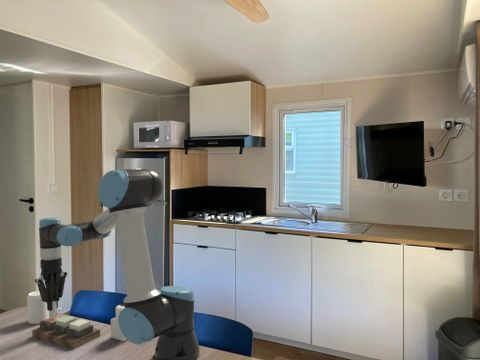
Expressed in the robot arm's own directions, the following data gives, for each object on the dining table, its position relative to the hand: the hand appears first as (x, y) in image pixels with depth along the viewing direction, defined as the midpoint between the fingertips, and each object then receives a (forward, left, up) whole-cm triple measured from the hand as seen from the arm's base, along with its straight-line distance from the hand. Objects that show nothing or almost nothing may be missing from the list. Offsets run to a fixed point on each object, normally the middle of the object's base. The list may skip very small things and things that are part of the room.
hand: (52, 317), depth 156 cm
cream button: (-15, 0, -2) cm, 15 cm away
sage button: (-7, 0, -2) cm, 8 cm away
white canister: (+16, -5, -6) cm, 18 cm away
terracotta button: (0, 0, -3) cm, 3 cm away
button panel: (-7, 0, -6) cm, 9 cm away
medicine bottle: (-27, -10, -6) cm, 30 cm away
